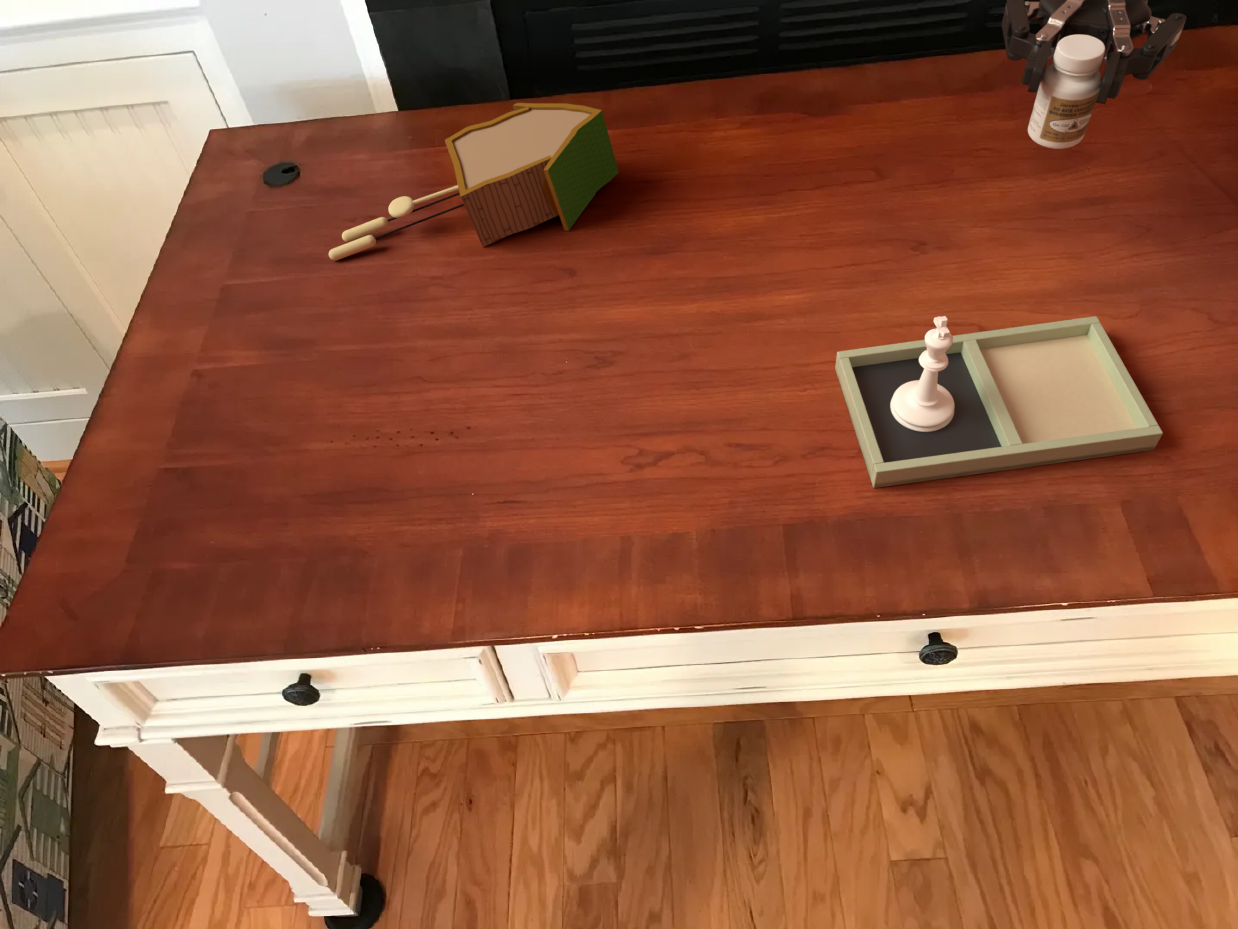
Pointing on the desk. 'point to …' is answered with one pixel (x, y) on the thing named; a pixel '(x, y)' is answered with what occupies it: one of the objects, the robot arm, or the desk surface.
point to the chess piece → (927, 386)
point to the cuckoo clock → (515, 173)
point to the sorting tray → (999, 403)
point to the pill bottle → (1067, 93)
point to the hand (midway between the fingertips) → (1069, 86)
